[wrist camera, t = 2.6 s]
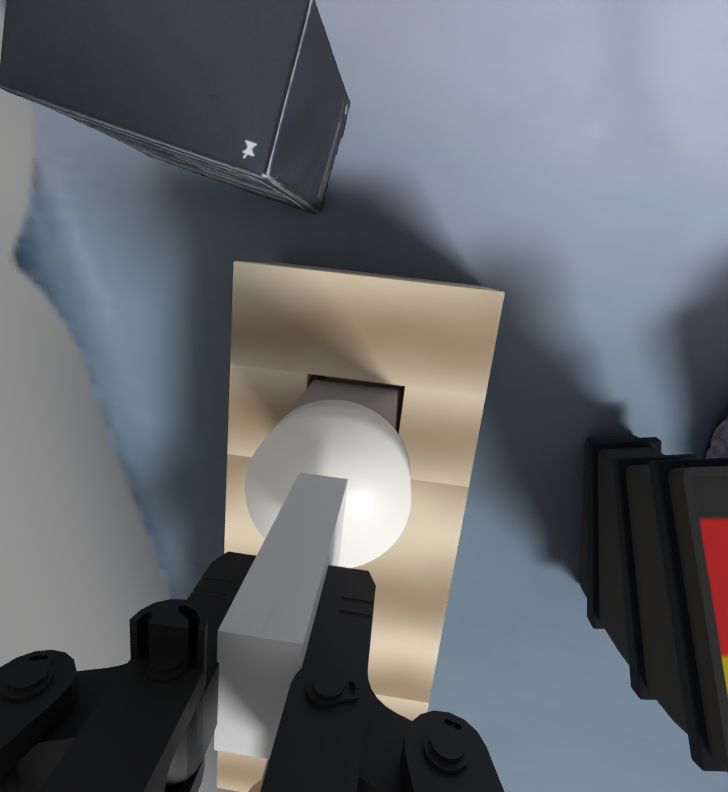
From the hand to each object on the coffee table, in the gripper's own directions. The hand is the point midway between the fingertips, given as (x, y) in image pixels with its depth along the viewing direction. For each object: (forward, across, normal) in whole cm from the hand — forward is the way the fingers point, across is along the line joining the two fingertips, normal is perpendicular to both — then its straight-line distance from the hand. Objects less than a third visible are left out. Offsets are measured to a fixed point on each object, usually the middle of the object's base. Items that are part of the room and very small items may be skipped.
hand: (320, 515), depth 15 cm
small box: (+16, -8, +14) cm, 23 cm away
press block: (+15, 0, -9) cm, 18 cm away
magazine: (+16, +16, -5) cm, 23 cm away
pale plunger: (+9, 0, 0) cm, 9 cm away
